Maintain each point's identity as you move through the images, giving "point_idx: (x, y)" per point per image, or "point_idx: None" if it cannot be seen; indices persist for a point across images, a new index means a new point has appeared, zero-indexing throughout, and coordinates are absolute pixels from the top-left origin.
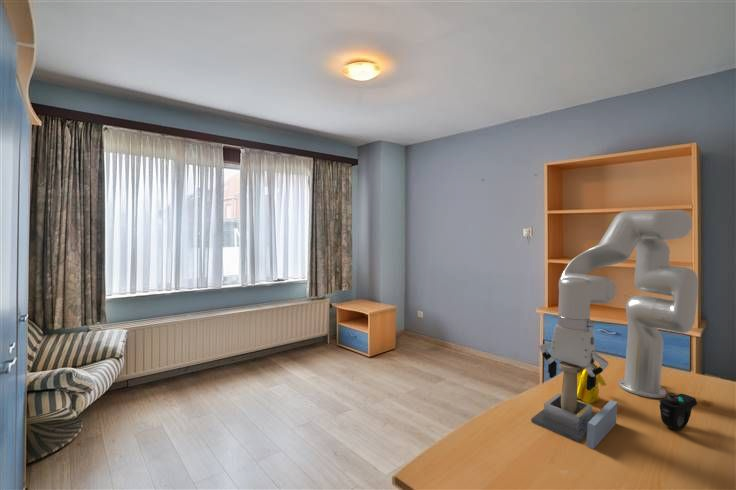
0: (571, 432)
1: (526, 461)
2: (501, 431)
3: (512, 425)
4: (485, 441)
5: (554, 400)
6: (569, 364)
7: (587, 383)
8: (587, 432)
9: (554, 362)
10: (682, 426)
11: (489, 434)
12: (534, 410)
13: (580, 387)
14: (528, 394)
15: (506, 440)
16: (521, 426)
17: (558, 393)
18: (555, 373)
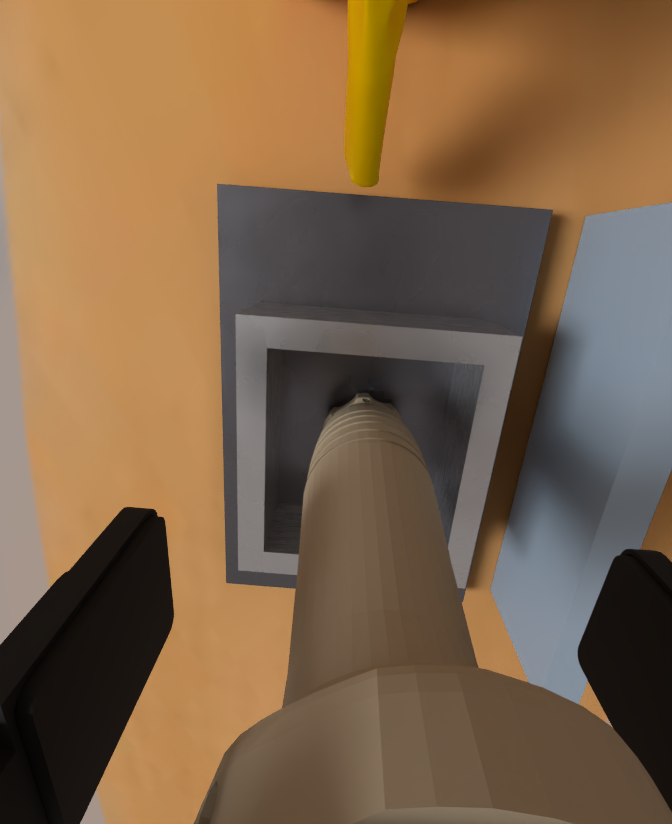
0: None
1: None
2: (186, 703)
3: (190, 644)
4: (187, 777)
5: (265, 468)
6: None
7: (628, 741)
8: (516, 649)
9: (11, 795)
10: None
11: (169, 741)
12: (182, 446)
13: (382, 71)
14: (28, 245)
15: (232, 736)
16: (220, 628)
17: (237, 321)
18: (151, 564)
